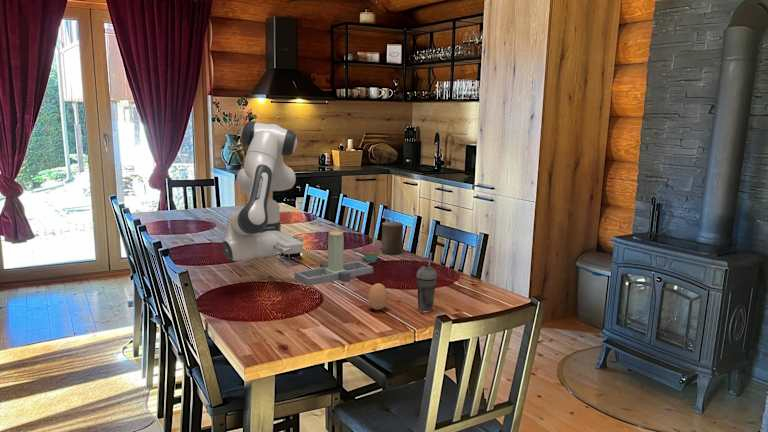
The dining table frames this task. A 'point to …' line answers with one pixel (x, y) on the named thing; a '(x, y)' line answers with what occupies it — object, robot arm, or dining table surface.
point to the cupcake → (370, 251)
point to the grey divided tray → (342, 276)
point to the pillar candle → (392, 238)
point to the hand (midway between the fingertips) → (301, 239)
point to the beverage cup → (426, 286)
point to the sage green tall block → (335, 252)
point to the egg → (378, 296)
